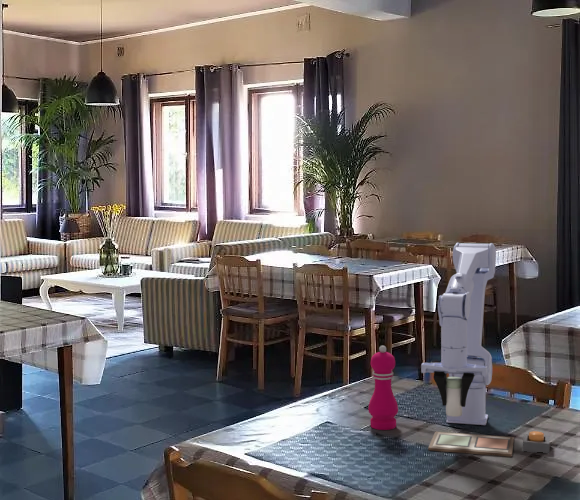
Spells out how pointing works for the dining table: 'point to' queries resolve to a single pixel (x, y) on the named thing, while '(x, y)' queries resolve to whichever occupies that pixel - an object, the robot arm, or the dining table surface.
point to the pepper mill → (383, 392)
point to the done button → (536, 436)
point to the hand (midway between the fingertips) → (454, 405)
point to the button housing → (535, 444)
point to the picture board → (472, 444)
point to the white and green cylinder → (453, 396)
